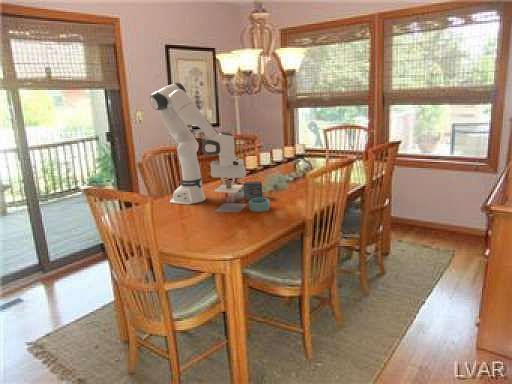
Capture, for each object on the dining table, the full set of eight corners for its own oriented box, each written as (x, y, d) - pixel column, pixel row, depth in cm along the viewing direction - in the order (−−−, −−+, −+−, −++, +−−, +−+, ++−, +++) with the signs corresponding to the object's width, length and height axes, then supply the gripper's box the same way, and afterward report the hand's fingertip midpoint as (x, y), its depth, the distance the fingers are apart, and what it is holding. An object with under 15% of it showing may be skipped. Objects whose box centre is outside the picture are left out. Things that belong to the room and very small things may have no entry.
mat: (214, 212, 224) (214, 211, 224) (224, 204, 238) (223, 203, 238) (239, 212, 220) (239, 212, 220) (247, 204, 234) (247, 203, 234)
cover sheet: (214, 191, 222) (213, 183, 221) (222, 185, 234) (221, 177, 233) (236, 192, 219) (235, 184, 217) (243, 186, 231) (242, 178, 229)
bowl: (247, 211, 221) (246, 203, 219) (253, 205, 231) (252, 197, 230) (266, 212, 218) (266, 203, 216) (271, 206, 228) (270, 197, 226)
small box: (262, 197, 247) (261, 180, 244) (262, 200, 241) (260, 183, 238) (246, 197, 248) (244, 181, 245) (244, 200, 242) (243, 184, 239)
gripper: (208, 161, 222) (209, 185, 226) (242, 162, 216) (243, 187, 220) (212, 159, 228) (213, 182, 231) (246, 160, 222) (247, 184, 226)
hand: (228, 184), depth 226 cm, fingers closed on cover sheet, 3 cm apart
